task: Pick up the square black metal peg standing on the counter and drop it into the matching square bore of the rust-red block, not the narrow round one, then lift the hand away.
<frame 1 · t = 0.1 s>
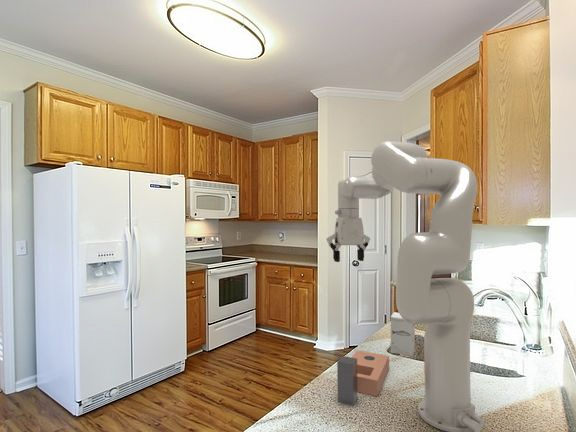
hand: (348, 261, 118), 31 cm above the worktop, tool pointing down, fingers open, 9 cm apart
square peg: (347, 400, 82), on the worktop
supplement box: (402, 352, 114), on the worktop
bore block: (366, 377, 94), on the worktop
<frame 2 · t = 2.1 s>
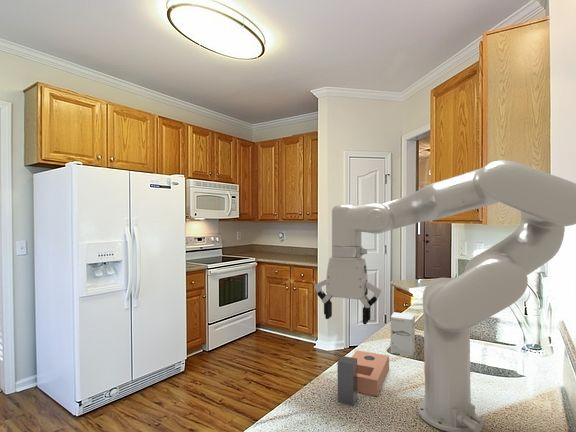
hand: (346, 320, 83), 20 cm above the worktop, tool pointing down, fingers open, 9 cm apart
nothing on the worktop moved.
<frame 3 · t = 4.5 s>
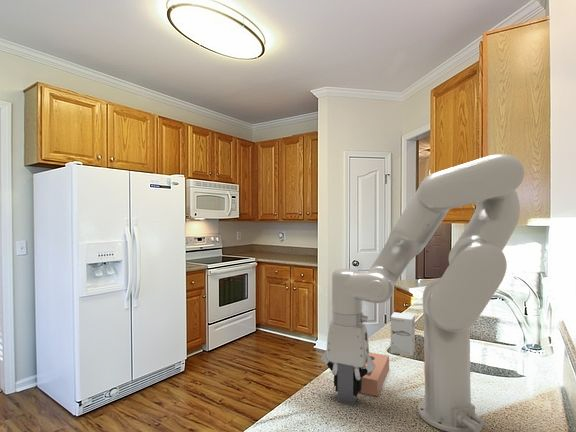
hand: (347, 390, 82), 2 cm above the worktop, tool pointing down, fingers closed on square peg, 4 cm apart
square peg: (347, 400, 82), on the worktop, touching gripper
everything else where it was.
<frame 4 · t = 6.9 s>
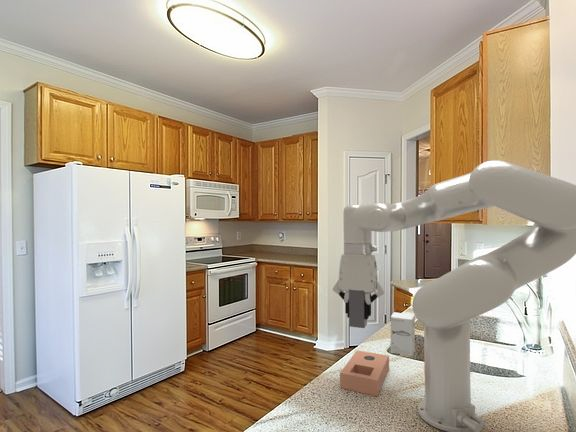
hand: (358, 316, 89), 19 cm above the worktop, tool pointing down, fingers closed on square peg, 4 cm apart
square peg: (358, 325, 89), point 17 cm above the worktop, touching gripper
everything else where it was.
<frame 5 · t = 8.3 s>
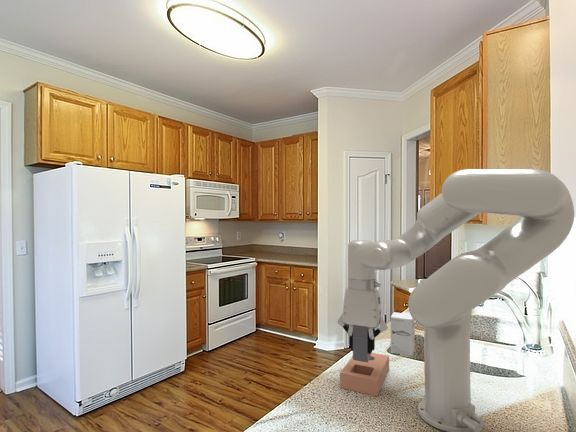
hand: (361, 350, 91), 9 cm above the worktop, tool pointing down, fingers closed on square peg, 4 cm apart
square peg: (361, 358, 91), point 7 cm above the worktop, touching gripper
everything else where it was.
when the fingers open (5 cm above the worktop, at t = 9.6 s): square peg drops 2 cm, resting in bore block.
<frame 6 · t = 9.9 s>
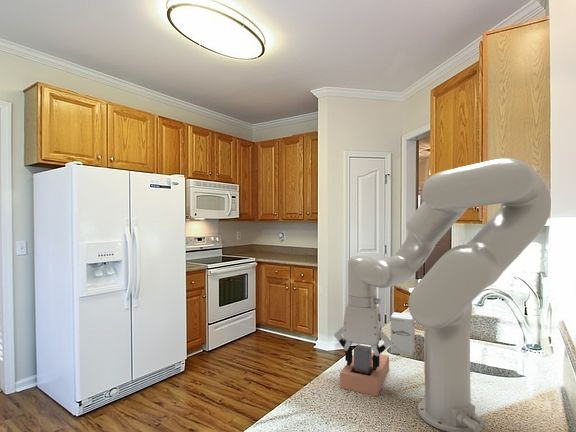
hand: (362, 365, 91), 5 cm above the worktop, tool pointing down, fingers open, 6 cm apart
square peg: (363, 384, 90), resting in bore block
everything else where it was.
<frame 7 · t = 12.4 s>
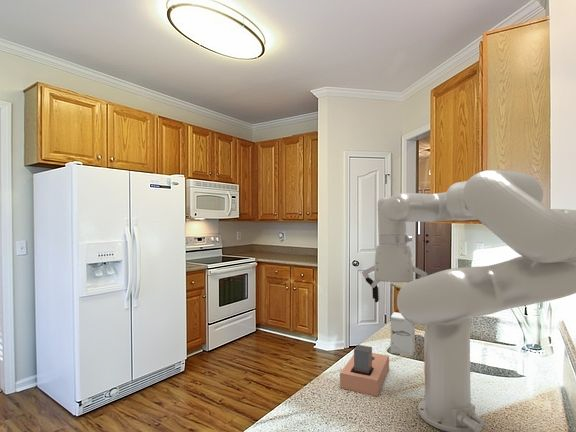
hand: (394, 302, 91), 23 cm above the worktop, tool pointing down, fingers open, 9 cm apart
nothing on the worktop moved.
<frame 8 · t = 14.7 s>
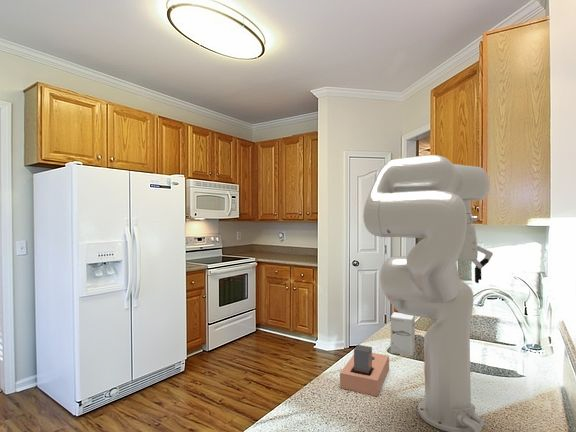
hand: (457, 281, 92), 28 cm above the worktop, tool pointing down, fingers open, 9 cm apart
nothing on the worktop moved.
at the end: square peg 0.3 cm from the target spot on the bore block, point 0.0 cm above the bore block's base; square peg tilted 0°; the gripper is holding nothing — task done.
